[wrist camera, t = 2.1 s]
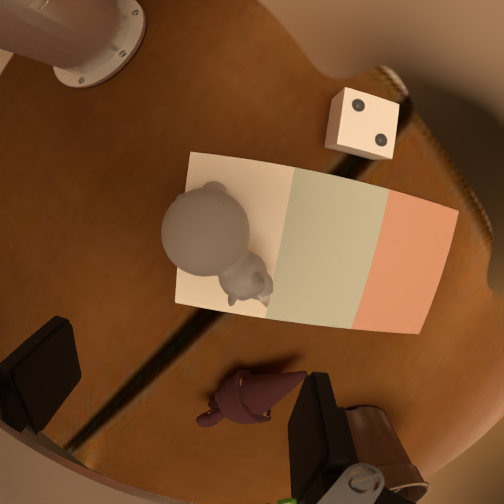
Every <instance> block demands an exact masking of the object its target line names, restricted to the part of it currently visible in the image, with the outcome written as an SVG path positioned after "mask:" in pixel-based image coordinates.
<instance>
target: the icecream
mask: <svg viewBox="0 0 504 504" xmlns="http://www.w3.org/2000/svg"><path fill="white" fill-rule="evenodd" d="M306 375H307V372H306V371H299V372H289V373H277V374H260V375H254V374H253V373H252V372H251V371H250V370H248V369H244V370H237V371H236V374H235V375H233V376H231V377H230V378H229V379H227V380H226V381H224V383H223V384H222V385H221V387H220V389H218V390H216V391H215V398H214V399H212V400H211V401H210V402H209V403H208V406H209V407H210V408H211V409H210V410H209V411H207V412H205V413H203V414H201V415H200V416H198V417H197V419H196V422H197V423H198V425H199V426H201V427H210V426H213V425H215V424H217V423H218V421H220V420H222V419H223V418H224V417H226V418H228V419H229V420H231V421H234V422H237V423H241V424H252V423H261V422H266V421H270V420H271V417H270V414H271V410H270V408H271V407H273V406H274V405H275V404H276V403H277V402H278V401H280V400H281V399H282V398H283V397H284V396H285V395H287V394H288V393H289V392H290V391H291V390H292V389H293V388H294V387H296V386H297V385H298V384H299V383H300V382H301V381H302V380H303V379H304V378H305V377H306Z"/></svg>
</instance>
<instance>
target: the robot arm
mask: <svg viewBox="0 0 504 504" xmlns="http://www.w3.org/2000/svg"><path fill="white" fill-rule="evenodd" d="M145 29H146V16H145V12H144V10H143V9H142V7H141V6H140V4H139V3H138V2H137V1H136V0H0V49H2V50H6V51H9V52H12V53H16V54H19V55H22V56H25V57H28V58H31V59H34V60H37V61H40V62H43V63H46V64H49V65H52V66H53V69H54V72H55V75H56V77H57V78H58V79H59V81H60V82H62V83H63V84H64V85H67V86H70V87H73V88H88V87H92V86H96V85H98V84H100V83H102V82H104V81H106V80H107V79H109V78H111V77H112V76H113V75H115V74H116V73H117V72H118V71H120V70H121V69H122V68H123V67H124V66H125V65H126V64H127V63H128V62H129V60H130V59H131V58H132V56H133V55H134V54H135V52H136V51H137V49H138V47H139V45H140V44H141V41H142V39H143V36H144V33H145ZM80 379H81V370H80V365H79V361H78V356H77V351H76V345H75V340H74V334H73V328H72V325H71V324H70V322H69V320H68V319H65V318H62V317H60V316H54V317H53V318H52V319H51V320H49V321H48V322H47V323H46V324H45V325H43V326H42V327H41V328H40V329H39V330H37V331H36V332H35V333H34V334H33V335H32V336H30V337H29V338H28V339H27V340H26V341H25V342H23V343H22V344H21V345H20V346H19V347H18V348H17V349H16V350H14V351H13V352H12V353H11V354H10V355H9V356H8V357H7V358H6V359H4V360H3V361H2V362H1V363H0V504H196V503H191V502H186V501H182V500H177V499H173V498H169V497H165V496H162V495H158V494H154V493H151V492H148V491H144V490H141V489H138V488H135V487H132V486H129V485H126V484H123V483H120V482H118V481H115V480H112V479H110V478H107V477H104V476H102V475H100V474H97V473H95V472H92V471H90V470H88V469H85V468H83V467H81V466H79V465H77V464H75V463H73V462H71V461H69V460H66V459H65V458H63V457H61V456H59V455H57V454H55V453H53V452H51V451H49V450H48V449H46V448H44V447H42V446H41V445H39V444H37V443H35V442H34V441H32V440H30V439H29V438H27V437H25V436H24V435H23V430H24V428H26V429H27V430H28V431H29V432H31V433H33V434H34V435H37V434H38V432H39V431H42V430H43V429H44V428H45V427H46V425H47V424H48V423H49V421H50V420H51V418H52V417H53V416H54V414H55V413H56V411H57V410H58V409H59V407H60V406H61V405H62V403H63V402H64V401H65V399H66V398H67V397H68V395H69V394H70V393H71V391H72V390H73V389H74V387H75V386H76V385H77V383H78V382H79V381H80ZM288 441H289V458H290V477H291V496H292V498H293V499H296V501H297V504H416V503H414V502H412V501H410V500H408V499H406V498H404V497H402V496H401V495H399V494H397V493H395V492H393V491H391V490H389V489H388V488H386V487H384V484H385V483H384V476H383V474H382V472H381V471H380V470H379V469H378V468H376V467H375V466H373V465H370V464H368V463H359V461H358V457H357V453H356V449H355V445H354V442H353V438H352V434H351V430H350V427H349V423H348V419H347V416H346V412H345V410H344V408H343V407H337V405H336V401H335V398H334V394H333V390H332V386H331V382H330V379H329V375H328V373H323V372H312V373H311V375H306V377H305V379H304V382H303V385H302V387H301V390H300V393H299V396H298V398H297V401H296V404H295V406H294V409H293V411H292V414H291V416H290V419H289V422H288Z"/></svg>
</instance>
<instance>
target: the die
mask: <svg viewBox="0 0 504 504" xmlns="http://www.w3.org/2000/svg"><path fill="white" fill-rule="evenodd" d="M398 111H399V104H396V103H394V102H391V101H388V100H385V99H382V98H379V97H376V96H373V95H370V94H367V93H363V92H360V91H357V90H353V89H350V88H346V87H345V88H344V89H343V90H341V91H340V92H339V93H338V94H337V95H336V96H335V97H334V98H333V99H332V100H331V106H330V113H329V119H328V126H327V132H326V138H325V144H324V148H328V149H333V150H337V151H341V152H345V153H349V154H353V155H357V156H361V157H364V158H368V159H392V156H393V150H394V143H395V136H396V128H397V120H398Z"/></svg>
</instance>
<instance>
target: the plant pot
mask: <svg viewBox="0 0 504 504" xmlns="http://www.w3.org/2000/svg"><path fill="white" fill-rule="evenodd" d="M345 412H346V416H347V419H348V423H349V427H350V430H351V434H352V438H353V442H354V445H355V449H356V453H357V457H358V461H359V463H368V464H370V465H373V466H375V467H376V468H378V469H379V470H380V471H381V472H382V474H383V476H384V483H385V484H384V487H386V488H388V489H389V490H391V491H393V492H395V493H397V494H399V495H401V496H402V497H404V498H406V499H408V500H410V501H412V502H414V503H416V504H417V503H418V502H420V501H421V500H422V499H423V498H424V497H425V496H426V495H427V494H428V493H429V491H430V485H429V483H427V482H424V480H423V478H422V477H421V475H420V473H419V471H418V469H417V467H416V466H414V465H412V463H411V461H410V459H409V457H408V455H407V453H406V452H405V450H404V448H403V446H402V444H401V442H400V440H399V438H398V436H397V435H396V433H395V431H394V429H393V427H392V425H391V423H390V421H389V419H388V417H387V415H386V414H385V412H384V411H382V410H381V409H379V408H376V407H371V406H359V407H357V408H356V409H354V410H345Z"/></svg>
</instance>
